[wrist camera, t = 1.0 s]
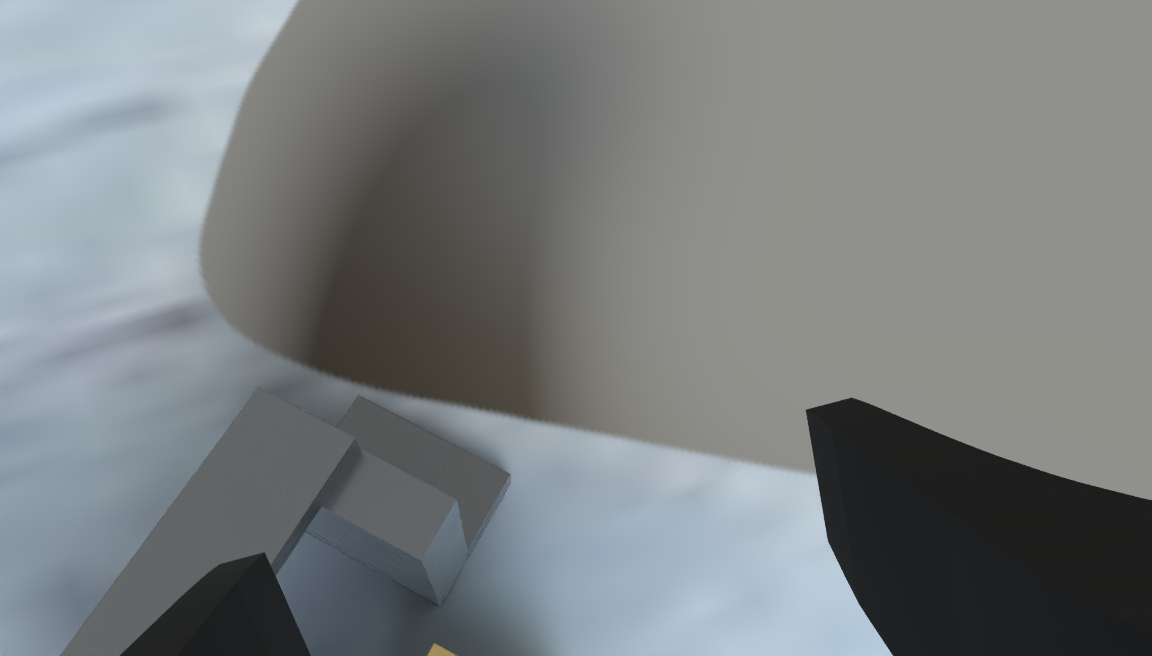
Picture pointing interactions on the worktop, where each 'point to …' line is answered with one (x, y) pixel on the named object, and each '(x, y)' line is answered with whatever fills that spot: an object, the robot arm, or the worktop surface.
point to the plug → (439, 651)
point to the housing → (307, 510)
